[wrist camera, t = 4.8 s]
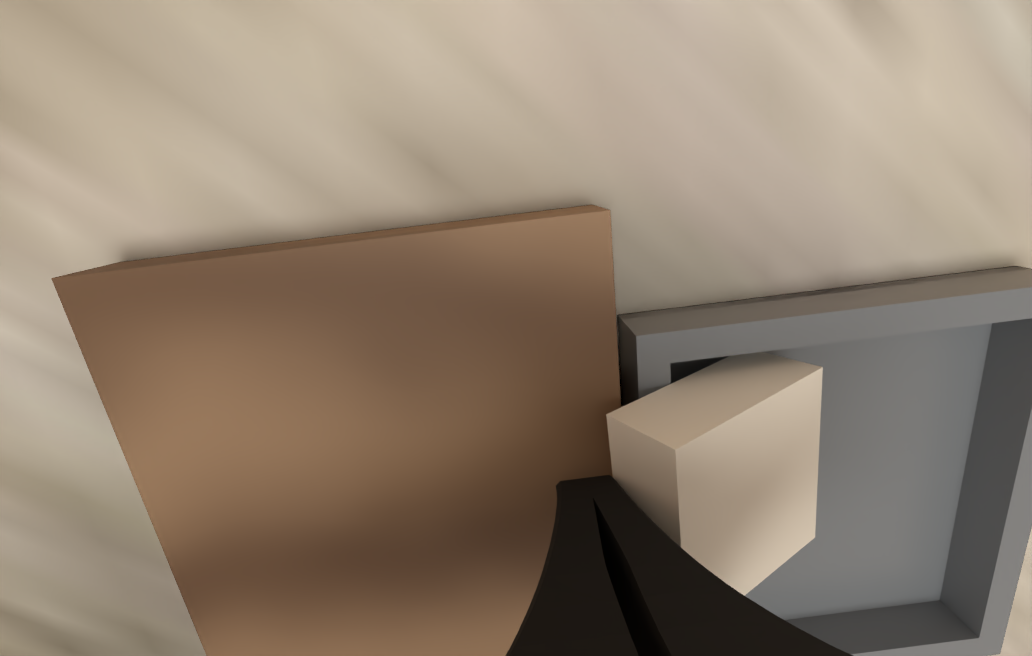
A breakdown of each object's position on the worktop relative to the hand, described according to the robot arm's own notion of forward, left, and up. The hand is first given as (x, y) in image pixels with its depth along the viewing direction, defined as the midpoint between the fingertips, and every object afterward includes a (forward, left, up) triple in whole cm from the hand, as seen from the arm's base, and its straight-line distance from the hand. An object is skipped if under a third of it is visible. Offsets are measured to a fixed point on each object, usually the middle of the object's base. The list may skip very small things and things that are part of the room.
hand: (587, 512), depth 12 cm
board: (-2, +5, -3) cm, 6 cm away
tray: (-2, -7, -3) cm, 8 cm away
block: (0, -3, -1) cm, 3 cm away
